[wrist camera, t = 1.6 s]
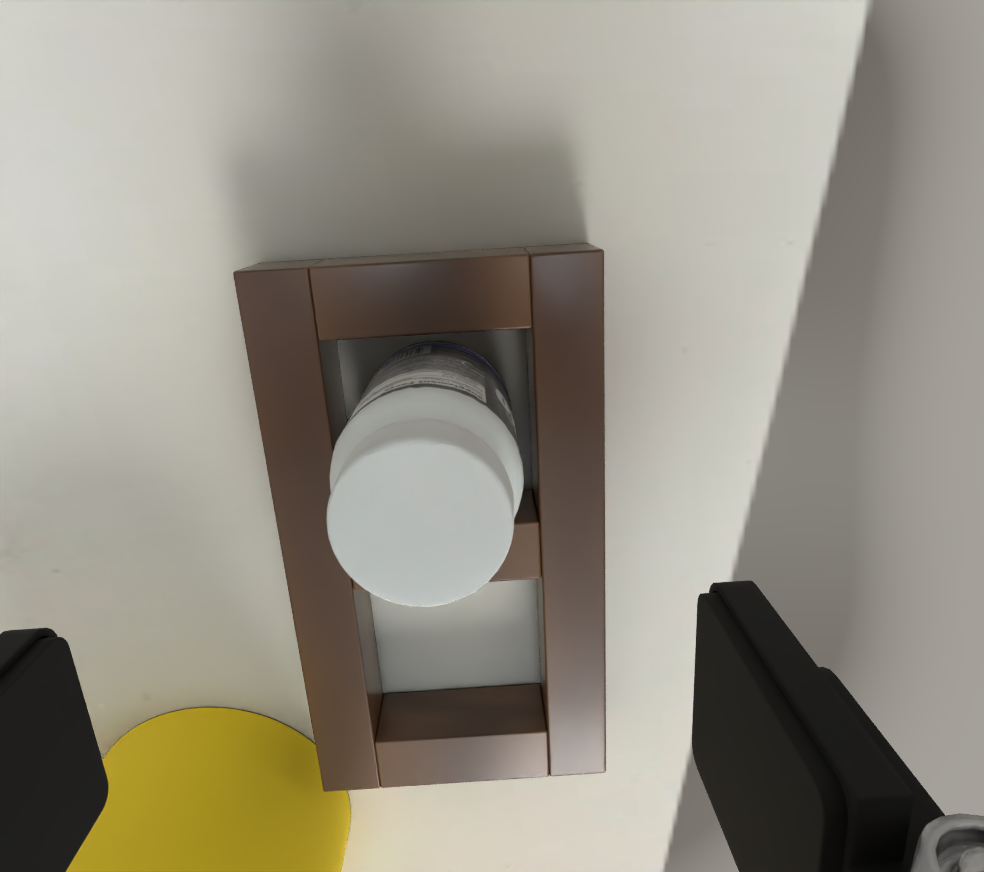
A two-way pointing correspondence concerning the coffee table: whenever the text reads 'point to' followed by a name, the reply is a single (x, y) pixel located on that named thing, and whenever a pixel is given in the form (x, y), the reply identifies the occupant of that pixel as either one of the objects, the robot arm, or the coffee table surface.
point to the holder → (537, 525)
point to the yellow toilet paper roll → (215, 799)
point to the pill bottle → (426, 478)
